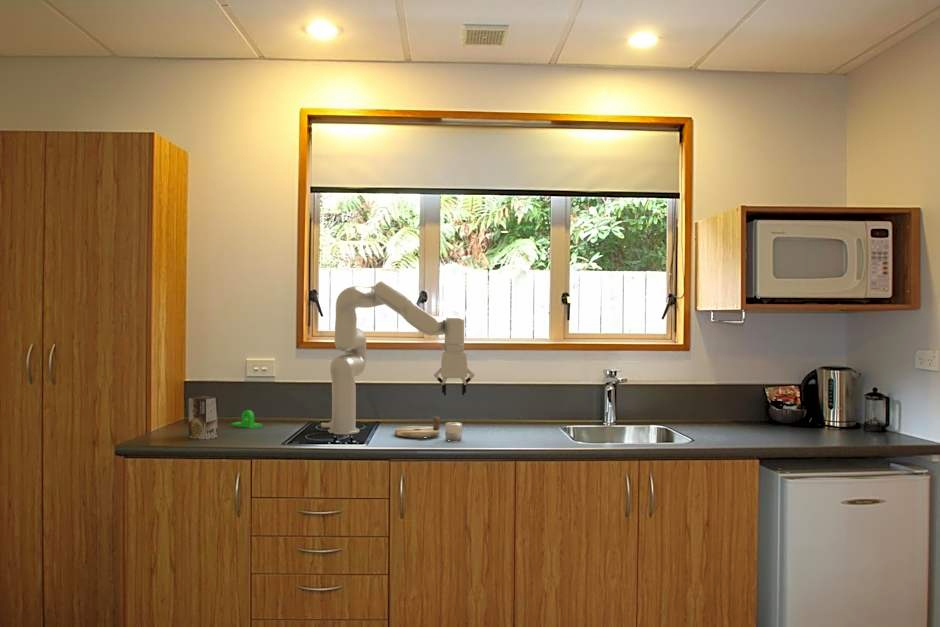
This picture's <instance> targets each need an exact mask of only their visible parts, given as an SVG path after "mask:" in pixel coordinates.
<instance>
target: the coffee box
mask: <svg viewBox="0 0 940 627" xmlns="http://www.w3.org/2000/svg"><path fill="white" fill-rule="evenodd" d="M218 401H219V396H218V397H217V396H206V395H205V396H204V395H203V396H202V395H201V396H200V395H199V396H194V397H188V438H189V437H190V438H189V439H196V438H199V439H198V440H204V439H207V440H211V439H210V438H212V439H216V438H215V437H217V438H218V437H219V436H218V435H219V434H218V430H219V429H218V428H219V427H218V426H219V425H218V423H219V414H218V413H219V402H218Z"/></svg>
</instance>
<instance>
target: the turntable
mask: <svg viewBox="0 0 940 627" xmlns="http://www.w3.org/2000/svg"><path fill="white" fill-rule="evenodd" d="M432 424H433V425H432V426H427V425H426V426H425V425H411V426H410V425H409V426H408V425H407V426H401V427H395V429H394V434H395V435H396V436H400V437H404V436H405V437H404V438H409V437H429V436H432V437H435V436H438V435H440V434H441V429H440V416H433V422H432Z"/></svg>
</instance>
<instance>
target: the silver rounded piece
mask: <svg viewBox="0 0 940 627" xmlns="http://www.w3.org/2000/svg"><path fill="white" fill-rule="evenodd" d="M445 439H446V440H450V441H458V442H460V441H459V440H462V441H463V423H462V422H459V421H458V422H456V421H454V422H453V421H449V422H445V438H444V440H445ZM446 440H445V441H446ZM450 441H449V442H450Z"/></svg>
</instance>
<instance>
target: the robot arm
mask: <svg viewBox="0 0 940 627" xmlns="http://www.w3.org/2000/svg"><path fill="white" fill-rule="evenodd" d="M383 305H385V306H387V308H388V307H389V309H391V310H393V311H394V312H396V314H398V315H400V316H401V317H402V318H403V319H404V320H405V321H406V322H407V323H408V324H409V325H410V326H412V327H413V328H414V329H416V330H418V331H419V332H421V333H423V334H425V335H426V336H441V335H444V344H442V345H440V349H441V350H444V351H442V355H441V363H440V366H441V367H440V368H439V369H438V370H437V371H436V372H435V373H434V374H433V376H434V377H435V379H436V380H437V381H438V382H439V383H440V384H441V393H442V394H443V396H446V395H447V384H446V381H447V380H448V379H461V381H462V384H461V395H462V396H465V394H466V393H467V384H468V383H470V382H471V381H472V379H473V378H474V377H475V374H474V373H473V372H472V371H471V370H470V369H469V368H468V356H467V352H466V351H465V319H464V318H463V317H462V316H447V317H446V316H441V315H431V314H429V313H428V312H426V311H425V310H424V309H422V308H421V307H419V306H418V305H417V303H416V299H415V298H414V297H413V296H411V295H410V294H408V293H407V292H405V291H404V290H403V289H402V287H401V285H400V284H398V282H395V281H390V280H380V281H379V282H377V283H376V284H375V285H372V286H368V287H367V286H355V285H354V286H349V287H347V288H345V289H344V290H342V291H341V292H340V293H339V294H338V296H337V298H336V302H335V324H334V346H335V347H336V349H337V350H338V351H341V352H344V354H340V355H338V356H336V357H334V358H333V359H332V361H331V362H330V366H329V367H330V368H329V371H330V378H331V396H332V397H331V400H332V401H331V421H328V422H321V423H320V427H321V428H324V429H326V428H327V433H328V432H329V433H328V434H331V433H334V434H333V435H353V434H358V433H360V429H359V428H358V427H356V425H357V424H356V420H357V419H356V415H357V412H356V410H357V409H356V406H357V399H356V398H357V392H356V391H357V389H356V388H357V387H356V381H355V377H358V376H360V375H361V374H363V372H364V371H365V368H366V361H367V360H366V359H367V337H366V335H365V333H364V331H363V330H362V329H360V328H357V320H358V318H357V312H356V309H357V308H368V309H370V308H373V307H377V306H378V307H379V306H383ZM468 374H469V376H468ZM439 375H440V376H441V377H442V378H441V377H440V376H439Z"/></svg>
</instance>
